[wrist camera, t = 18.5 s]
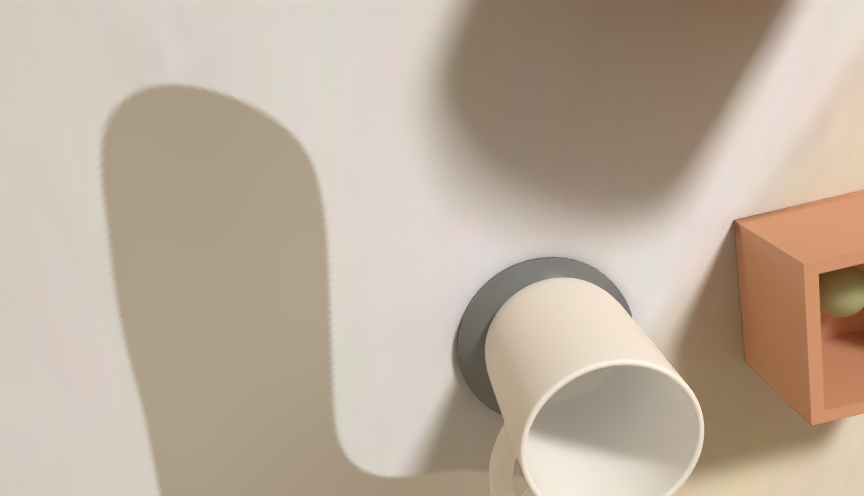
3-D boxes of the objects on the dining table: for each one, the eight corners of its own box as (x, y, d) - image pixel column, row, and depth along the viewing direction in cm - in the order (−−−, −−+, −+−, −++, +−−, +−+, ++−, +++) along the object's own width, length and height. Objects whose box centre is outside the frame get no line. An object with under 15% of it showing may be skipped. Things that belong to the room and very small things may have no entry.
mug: (535, 476, 46) (584, 607, 36) (418, 417, 44) (437, 541, 34) (655, 316, 43) (742, 412, 34) (536, 245, 41) (593, 327, 32)
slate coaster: (475, 434, 46) (477, 439, 45) (441, 280, 42) (442, 284, 42) (640, 394, 46) (643, 399, 45) (618, 238, 42) (622, 242, 42)
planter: (745, 361, 46) (811, 425, 39) (734, 220, 43) (803, 263, 36) (891, 326, 46) (981, 384, 39) (890, 183, 43) (988, 220, 36)
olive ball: (798, 309, 44) (828, 332, 41) (795, 261, 43) (826, 281, 40) (848, 297, 44) (882, 319, 41) (847, 249, 43) (882, 268, 40)
